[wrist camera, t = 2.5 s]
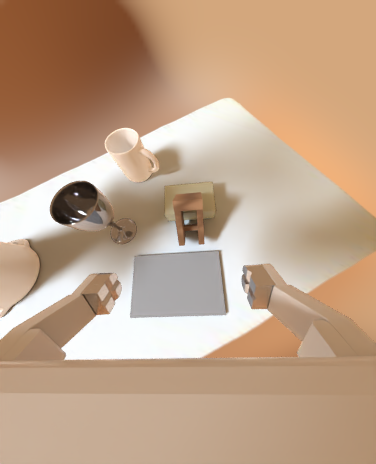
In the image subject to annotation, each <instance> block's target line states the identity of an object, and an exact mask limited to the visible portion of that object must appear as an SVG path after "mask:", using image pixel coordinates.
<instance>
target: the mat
mask: <svg viewBox="0 0 376 464" xmlns="http://www.w3.org/2000/svg"><path fill="white" fill-rule="evenodd" d="M208 315H226V310H225V302H224V293H223V285H222V276H221V268H220V259H219V251H210V252H194V253H177V254H160V255H144V256H135V260H134V273H133V287H132V300H131V313H130V318H139V317H173V316H208Z"/></svg>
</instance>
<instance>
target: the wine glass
mask: <svg viewBox="0 0 376 464" xmlns="http://www.w3.org/2000/svg"><path fill="white" fill-rule="evenodd" d="M50 214H51V216H52V218H53V219H54V220H55V221H56V222H58V223H60V224H62V225H65V226H68V227H71V228H74V229H78V230H83V231H99V230H102V229H104V228H106V227H107V226H112V228H111V233H110V234H111V238H112V240H113V241H114V242H116V243H118V244H125V243H127V242H129V241H131V240H132V239H133V238H134V236H135V234H136V231H137V227H136V224H135V222H134V221H133V220H131V219H127V218H124V219H120V220H118V221H117V222H116V223H114V222H113V217H114V209H113V207H112V205H111V203H110V202H109V200H108V199H107V198H106V196H105V195H104V194H103V193H102V192H101V191H100V190H99V189H97V188H96V187H95V186H94V185H93V184H91V183H89V182H87V181H75V182H72V183H69V184H67V185H66V186H64V187H63V188H61V189H60V190H59V191H58V192H57V193H56V195H55V196H54V198H53V199H52V202H51V205H50Z"/></svg>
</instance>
